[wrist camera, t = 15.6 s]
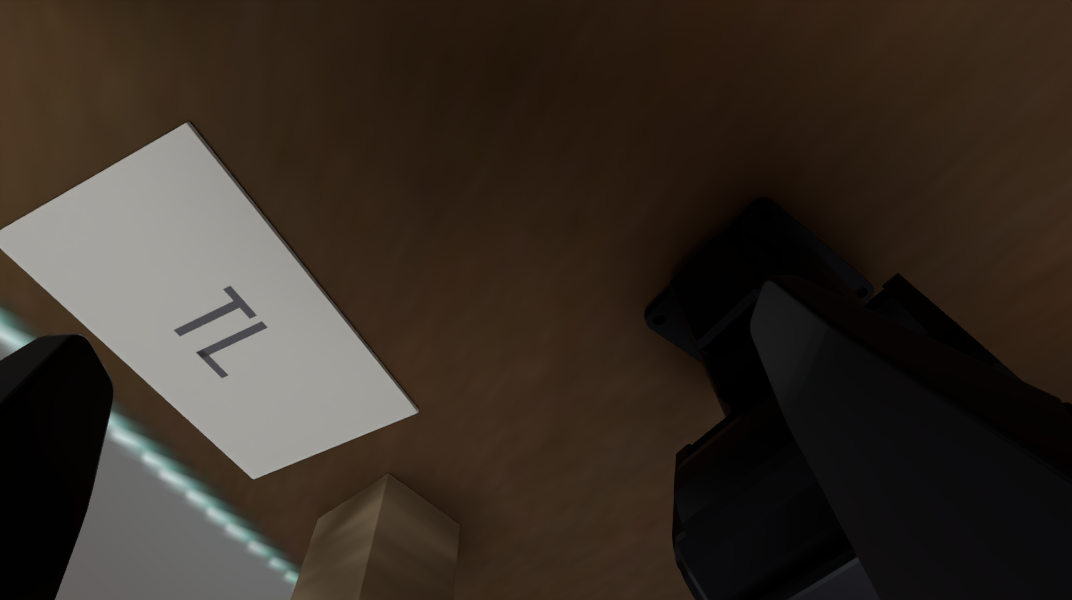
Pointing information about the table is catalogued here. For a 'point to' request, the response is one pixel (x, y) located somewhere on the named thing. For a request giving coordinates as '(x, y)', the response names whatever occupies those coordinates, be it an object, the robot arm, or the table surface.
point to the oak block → (381, 549)
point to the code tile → (208, 305)
